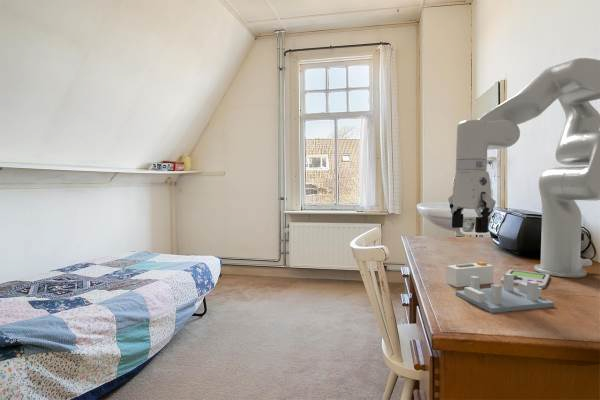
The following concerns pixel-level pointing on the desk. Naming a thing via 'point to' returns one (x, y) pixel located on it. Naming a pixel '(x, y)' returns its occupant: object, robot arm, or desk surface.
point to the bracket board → (505, 295)
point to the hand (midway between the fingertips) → (468, 230)
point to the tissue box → (469, 273)
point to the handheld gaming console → (528, 277)
